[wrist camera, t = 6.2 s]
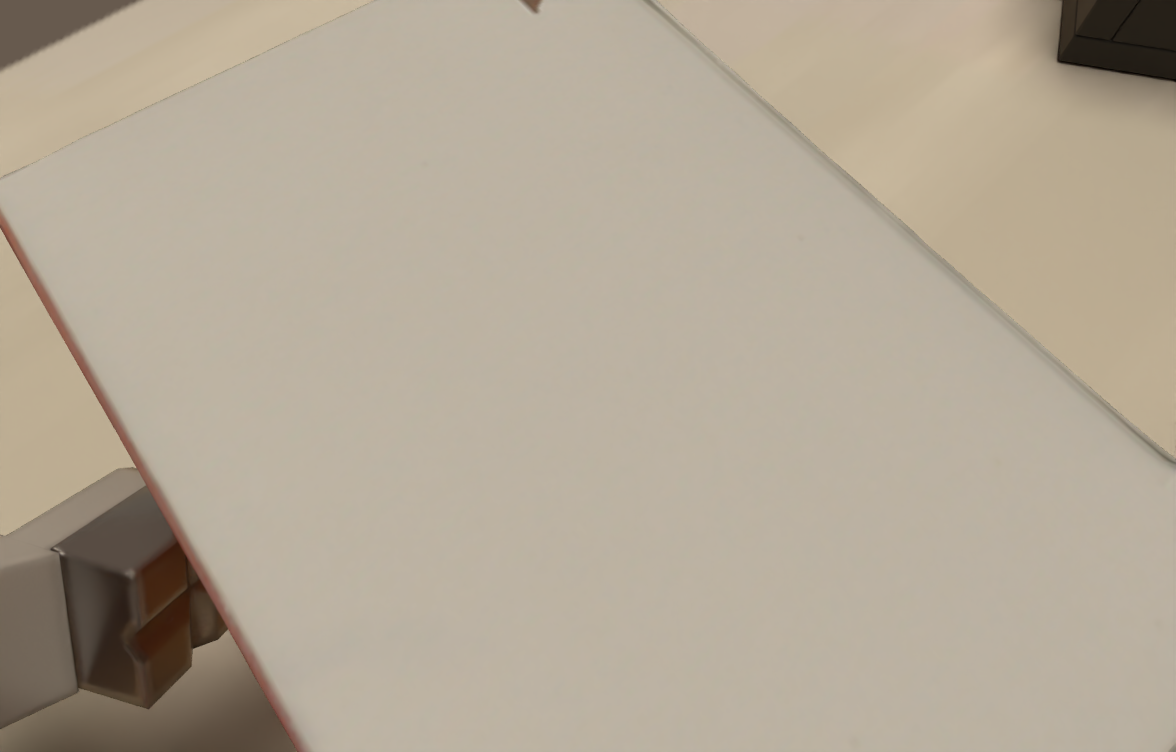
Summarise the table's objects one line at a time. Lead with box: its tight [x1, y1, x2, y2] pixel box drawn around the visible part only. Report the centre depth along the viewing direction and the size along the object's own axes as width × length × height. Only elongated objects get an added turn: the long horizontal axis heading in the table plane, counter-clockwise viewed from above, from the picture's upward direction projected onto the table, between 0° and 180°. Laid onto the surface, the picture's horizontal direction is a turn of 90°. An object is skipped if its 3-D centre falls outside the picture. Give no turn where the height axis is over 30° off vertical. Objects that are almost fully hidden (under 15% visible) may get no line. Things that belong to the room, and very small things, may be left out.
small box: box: [0, 0, 1176, 752], centre depth 10 cm, size 8×6×10 cm
